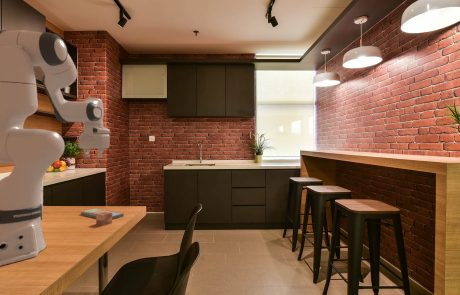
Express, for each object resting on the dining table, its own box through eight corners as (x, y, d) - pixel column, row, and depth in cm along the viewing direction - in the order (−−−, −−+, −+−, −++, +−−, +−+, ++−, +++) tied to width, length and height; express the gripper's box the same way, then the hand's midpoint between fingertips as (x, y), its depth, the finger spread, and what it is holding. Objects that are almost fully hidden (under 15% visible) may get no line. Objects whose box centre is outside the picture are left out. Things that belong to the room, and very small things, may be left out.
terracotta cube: (102, 225, 110) (103, 215, 110) (96, 224, 112) (96, 213, 112) (112, 223, 114) (112, 213, 114) (105, 221, 116) (105, 211, 116)
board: (107, 220, 117) (107, 217, 117) (80, 214, 127) (80, 211, 127) (123, 216, 125) (123, 213, 125) (97, 210, 135) (97, 208, 135)
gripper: (75, 130, 133) (74, 157, 133) (100, 129, 123) (100, 158, 123) (87, 131, 138) (86, 157, 138) (112, 130, 129) (111, 157, 128)
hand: (93, 157), depth 130 cm, fingers open, 8 cm apart
